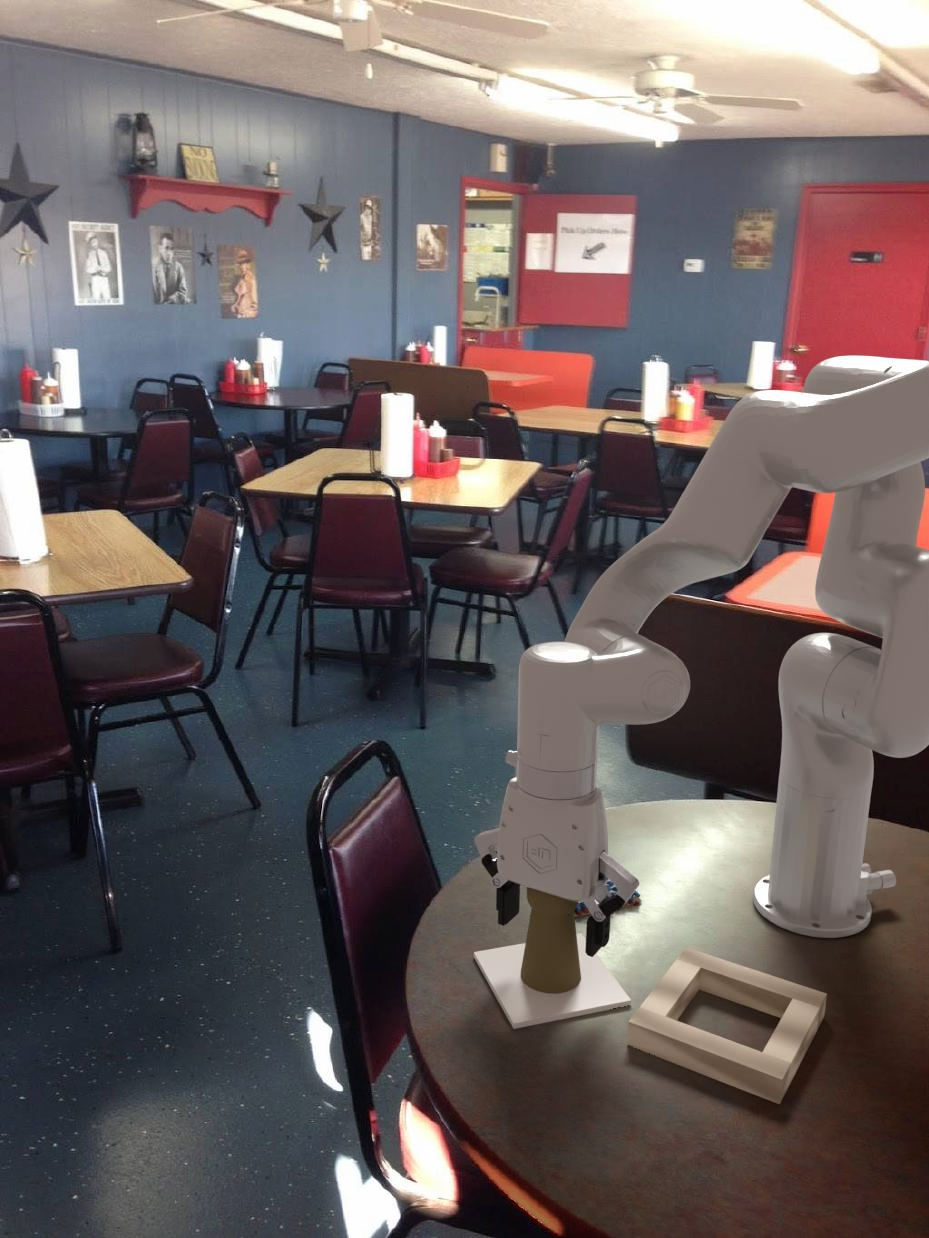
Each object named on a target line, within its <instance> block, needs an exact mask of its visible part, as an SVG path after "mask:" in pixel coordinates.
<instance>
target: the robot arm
mask: <svg viewBox="0 0 929 1238" xmlns="http://www.w3.org/2000/svg"><path fill="white" fill-rule="evenodd" d="M928 459H929V360H925V359H911V358H909V359H908V358H907V359H906V358H896V357H895V358H893V357H886V356H885V357H883V356H875V355H874V356H872V355H840V356H834V357H830V358H827V359H824V360H823V361H820V362H818V363H817V364H816V365H814V367H813V368H811V370H810V371H809V373H808V375H807V377H806V379H805V381H804V385H803V391H802V392H799V391H792V390H779V389H768V390H767V389H765V390H764V389H763V390H758V391H754V392H751V393H748V394H747V395H745V396H744V397H742V398H741V399H740V400H739V401H737V403H736V404H735V405H734V406H733V407H732V409H731V410H730V411H729V413H728V415H727V416H726V418H725V420H724V422H722V425H721V427H720V428H719V430H718V432H717V433H716V435H715V437H714V438H713V440H712V442H711V444H710V445H709V447H708V449H707V450H706V452H705V454H704V456H703V457H702V459H701V461H700V463H699V465H698V466H697V468H696V470H695V472H694V474H693V475H692V477H691V479H690V480H689V482H688V484H687V485H686V487H685V489H684V491H683V492H682V494H681V496H680V498H679V499H678V501H677V503H676V504H675V506H674V508H673V510H672V512H671V513H670V515H669V516H668V518H667V519H666V520H665V521H664V523H663V524H662V525H661V526H659V527H658V528H657V529H655V530H654V531H653V532H651V533H650V534H648V535H647V536H645V537H643V538H642V539H641V540H639V542H637V543H636V544H635V545H633V546H632V547H631V548H630V549H629V550H628V551H626V552H624V554H623V555H621V556H620V557H619V558H618V559H617V560H615V561H614V562H613V563H612V564H611V565H610V566H609V567H608V568H607V569H606V570H605V571H604V572H603V573H602V574H601V575H600V576H599V578H598V579H597V581H595V583H594V585H593V586H592V588H591V589H590V591H589V592H588V595H587V596H586V598H585V600H584V601H583V603H582V605H581V606H580V608H579V609H578V611H577V613H576V615H575V617H574V618H573V621H572V622H571V624H570V627H569V629H568V631H567V633H566V635H565V639H564V641H549V642H548V641H547V642H542V643H537V644H534V645H532V646H530V647H528V648H527V649H525V650H524V652H523V654H522V655H521V656H520V660H519V666H518V692H517V693H518V694H517V695H518V696H517V697H518V699H517V738H516V739H517V740H516V741H517V743H516V744H517V746H516V748H517V749H516V750H508V751H507V753H506V755H505V762H506V764H508V765H511V766H512V767H514V768H515V769H514V772H515V773H514V777H513V778H511V779H510V780H509V781H508V783H507V787H506V792H505V795H504V797H503V798H504V799H503V804H502V808H501V815H500V821H499V827H497V828H493V829H488V830H485V831H481V832H480V833H479V834H478V835H476V836H475V837H474V840H473V841H474V844H475V846H476V848H477V851H478V853H479V856H480V857H481V860H480V861H481V864H482V866H483V867H484V869H485V870H486V872H487V873H488V874H489V875H490V877H491V880H490V882H491V884H492V886H493V887H494V888H496V890H495V891H496V893H495V894H496V895H495V896H496V897H495V898H496V899H495V903H496V904H495V909H496V911H497V925H500V926H502V927H504V926H506V925H508V924H509V923H510V922H511V921H512V920H513V919H514V918H516V916H517V915H519V913H520V903H521V902H520V899H521V896H520V894H521V886H523V887H526V888H527V887H529V888H532V889H535V890H538V891H541V892H544V893H547V894H550V895H554V896H557V897H560V898H563V899H566V900H570V901H574V902H584V904H585V905H586V907H587V908H586V909H587V910H589V911H590V913H591V914H590V916H588V918H587V919H586V928H585V929H586V931H585V932H586V933H585V939H586V949H585V953H586V954H587V955H588V956H590V957H593V956H594V955H595V954H597V953H598V952H599V951H600V950H601V949H602V948H605V947H606V946H607V944H608V943H609V941H610V933H611V932H610V931H611V915H613V914H615V913H616V912H617V911H620V910H621V909H622V908H624V907H623V906H624V905H625V904H626V902H627V901H628V900H629V898H630V897H631V896H632V894H633V893H634V892H635V890H636V891H637V889H638V888H639V886H640V881H639V879H638V878H637V877H635V875H633V873H631V872H630V871H628V870H627V869H626V868H625V867H623V866H622V865H621V864H620V863H619V862H618V861H616V859H614V858H613V857H612V856H610V855H609V836H608V835H609V834H608V821H607V813H606V805H605V800H604V796H603V791H602V789H600V788H598V787H597V781H598V777H597V776H598V755H599V754H598V751H599V735H600V734H599V733H600V726H601V725H609V724H610V725H617V724H618V725H649V724H656V723H659V722H662V721H665V720H667V719H668V718H669V719H670V718H671V717H672V716H674V715H675V714H676V713H677V712H679V711H680V709H681V708H682V707H683V706H684V705H685V703H686V701H687V699H688V697H689V693H690V691H691V690H690V689H691V679H690V678H691V677H690V674H689V672H688V669H687V666H686V665H685V664H684V662H683V661H682V659H681V658H679V657H678V656H677V654H675V653H674V652H672V651H671V650H669V649H668V648H666V647H664V646H663V645H660V644H659V643H656V642H655V641H652V640H650V639H649V638H648V637H645V636H643V635H641V634H639V631H640V629H641V628H642V627H643V624H644V623H645V622H646V620H647V619H648V617H649V616H650V615H651V614H652V612H653V611H654V610H655V608H656V607H658V605H659V604H661V602H663V601H664V600H665V599H667V597H670V595H672V594H673V593H675V592H677V591H679V590H681V589H682V588H684V587H686V586H687V587H688V586H690V585H692V584H694V583H695V584H696V583H699V582H703V581H706V580H710V579H713V578H717V577H721V576H724V575H728V574H731V573H734V572H737V571H739V570H741V569H743V568H744V567H745V566H746V565H747V564H748V563H749V562H750V560H751V559H752V557H753V555H754V553H755V551H756V549H757V547H758V546H759V544H760V542H761V541H762V539H763V537H764V535H765V533H766V531H767V529H768V528H769V526H770V524H771V523H772V521H773V520H774V518H775V516H776V514H777V513H778V511H779V509H780V508H781V506H782V504H783V503H784V501H785V499H786V498H787V496H788V494H789V493H790V491H791V489H792V488H796V489H799V490H803V491H808V492H812V493H819V494H832V493H834V498H833V504H832V505H833V506H832V510H831V514H830V518H829V523H828V527H827V531H826V536H825V539H824V544H823V548H822V552H821V557H820V560H819V561H820V562H819V565H818V568H817V573H816V574H817V575H816V580H815V587H814V588H815V591H814V592H815V600H816V603H817V605H818V607H819V609H820V610H821V612H823V613H825V615H827V616H828V617H829V618H831V619H833V620H835V621H838V622H840V623H842V624H843V625H845V626H847V627H848V626H849V627H851V628H854V629H856V630H859V631H861V632H864V633H867V634H870V635H872V636H876V637H878V638H881V639H882V644H881V648H878V647H876V646H873V645H871V644H867V643H865V642H862V641H859V640H857V639H854V638H853V637H849V636H845V635H841V634H838V633H832V632H817V633H815V632H814V633H812V634H808V635H806V636H803V637H802V638H800V639H798V640H797V641H795V643H793V644H792V645H791V647H790V648H788V650H787V651H786V653H785V655H784V657H783V658H782V662H781V665H780V668H779V672H778V698H779V708H780V715H781V727H782V728H781V732H782V734H781V735H782V737H781V755H780V765H779V766H780V767H779V772H778V773H779V775H778V783H777V785H778V786H777V794H776V796H777V797H776V806H775V815H774V824H773V825H774V827H773V836H772V848H771V857H770V867H769V874H768V875H767V876H764V877H762V878H761V879H759V880H758V881H757V882H756V884H755V885H754V888H753V895H752V896H753V897H752V901H753V904H754V907H755V908H756V909H757V912H759V913H760V914H761V915H762V917H764V918H766V920H768V921H769V922H771V923H773V924H774V925H776V926H778V927H779V928H782V929H784V930H787V931H789V932H792V933H796V934H797V935H798V934H799V935H803V936H808V937H812V938H813V937H814V938H822V939H836V938H844V937H849V936H852V935H856V934H858V933H860V932H861V931H864V930H865V928H867V927H868V925H869V924H870V922H871V918H872V913H873V911H872V905H871V902H870V900H869V899H868V898H867V895H870V894H872V893H873V892H874V890H882V889H888V888H889V889H890V888H892V887H895V886H896V885H897V878H896V875H895V873H894V872H893V871H892V870H891V869H884V870H879V871H875V872H872V868H871V865H870V864H869V863H867V862H864V863H863V860H864V853H865V846H866V845H865V843H866V838H867V836H866V835H867V829H868V819H869V814H870V813H869V812H870V811H869V810H870V806H871V805H870V804H871V795H872V788H873V781H874V768H875V765H874V756H873V755H874V754H873V751H874V752H876V753H879V754H881V755H884V756H887V757H891V758H896V759H897V758H899V759H900V758H901V759H902V758H909V757H912V756H915V755H917V754H919V753H920V752H922V751H923V750H924V749H926V748H927V747H928V746H929V549H927V548H922V547H919V546H918V543H917V541H918V534H919V529H920V525H921V518H922V513H923V509H924V503H925V498H926V497H925V496H926V482H925V481H926V480H925V475H924V469H923V465H922V463H921V462H923V461H925V460H928ZM495 845H497V849H496V846H495ZM606 878H609V879H610V880H611V881H612V882H613V883H615V884H616V886H617V888H618V890H617V892H616V893H615V894H613V895H611V893H610V892H609V890H608V889H607V887H606V886H605V884H604V882H605V881H606ZM593 892H594V893H595V894H596V896H597V898H598V899H599V901H600V902H601V903H600V902H599V901H598V899H597V898H596V896H595V894H594V893H593Z"/></svg>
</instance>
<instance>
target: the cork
mask: <svg viewBox="0 0 929 1238" xmlns="http://www.w3.org/2000/svg"><path fill="white" fill-rule="evenodd" d="M526 899H527V903H528V904H529V906H530V908H531V910H530V915H529V922H528V926H527V933H526V938H525V939H526V940H525V943H526V944H525V950H524V955H523V961H522V967H521V978H522V980H523V982H524V983H525V984H526V985H527V986H528V987H530V988H532V989H534V990H536V991H539V992H543V993H551V994H558V993H564V992H567V991H570V990H572V989H574V988H575V987H576V986H577V985H578V984H579V983H580V980H581V972H580V963H579V954H578V944H577V935H576V934H577V929H576V928H577V926H576V917H575V916H574V913H575V911H574V910H575V909H576V907H577V905H578V903H579V902H574V901H570V900H566V899H563V898H560V897H557V896H554V895H550V894H547V893H544V892H541V891H538V890H535V889H532V888H529V887H526Z"/></svg>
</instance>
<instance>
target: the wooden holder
mask: <svg viewBox="0 0 929 1238" xmlns="http://www.w3.org/2000/svg"><path fill="white" fill-rule="evenodd" d="M699 991H702V992H705V993H708V994H711V995H714V996H716V997H719V998H722V999H726V1000H728V1001H731V1002H733V1003H736V1004H738V1005H742V1006H745V1007H747V1008H751V1009H754V1010H757V1011H759V1012H762V1013H766V1014H767V1015H771V1016H774V1017H777V1018H780V1020H779V1022H778V1024H777V1025H776V1028H775V1029H774V1030H773V1032H772V1034H771V1036H770V1038H769V1039H768V1042H767V1043H766V1045H765V1047H764V1049H763V1051H760V1050H758V1049H755V1048H752V1047H750V1046H747V1045H744V1044H741V1043H738V1042H735V1041H733V1040H730V1039H727V1038H725V1037H722V1036H720V1035H717V1034H713V1033H712V1032H708V1031H706V1030H704V1029H700V1028H698V1027H695V1026H692V1025H689V1024H687V1023H685V1022H682V1021H678V1020H679V1018H681V1016H682V1015H683V1013H684V1011H685V1010H686V1009H687V1008H688V1006H689V1005H690V1003H691V1002H692V1000H693V999H694V997H695V996H696V995H697V993H698V992H699ZM827 996H828V994H827V993H826V992H822V991H820V990H817V989H814V988H810V987H807V986H804V985H801V984H798V983H795V982H793V981H789V980H786V979H785V978H784V979H783V978H781V977H777V976H774V975H771V974H769V973H766V972H762V971H760V970H756V969H753V968H750V967H746V966H744V965H741V964H739V963H734V962H731V961H729V960H727V959H726V960H725V959H724V958H720V957H716V956H715V955H710V954H707V953H704V952H701V951H698V950H696V949H693V948H689V947H685V948H684V949H683V951H681V953H680V955H678V957H677V958H676V960H675V961H674V962H673V964H672V965H671V966H670V967H669V968H668V970H667V971H666V973H665V974H664V975H663V976H662V978H661V979H660V980H659V982H658V983H657V984H656V985H655V987H654V988H653V989H652V990H651V992H650V993H649V994H648V996H647V997H646V998H645V1000H644V1001H643V1002H642V1003H641V1004H640V1005H639V1007H638V1009H637V1010H636V1011H635V1013H633V1015H632V1016H631V1018H630V1019H629V1020H628V1025H627V1041H626V1042H627V1043H626V1045H627V1044H628V1045H627V1046H629V1045H630V1046H629V1047H631V1046H633V1047H632V1048H634V1049H636V1048H637V1049H636V1050H639V1049H640V1050H639V1051H642V1052H644V1053H647V1054H649V1053H650V1055H651V1056H654V1055H655V1056H654V1057H657V1058H659V1059H662V1060H665V1061H668V1062H670V1063H673V1064H674V1065H678V1066H680V1067H681V1068H682V1067H683V1068H685V1069H688V1070H691V1071H693V1072H695V1073H698V1074H701V1075H703V1076H706V1077H708V1078H709V1079H710V1078H711V1079H713V1080H716V1081H719V1082H721V1083H724V1084H726V1085H728V1086H731V1087H734V1088H736V1089H740V1090H741V1091H744V1092H747V1093H748V1094H752V1095H755V1096H757V1097H759V1098H762V1099H765V1100H767V1101H770V1102H772V1103H775V1104H777V1105H781V1103H782V1100H783V1099H784V1097H785V1095H786V1093H787V1091H788V1089H789V1086H790V1085H791V1083H792V1081H793V1079H794V1077H795V1075H796V1073H797V1071H798V1070H799V1067H800V1065H801V1063H802V1061H803V1059H804V1057H805V1055H806V1053H807V1051H808V1049H809V1047H810V1046H811V1044H812V1042H813V1040H814V1038H815V1035H816V1034H817V1032H818V1029H819V1027H820V1026H821V1024H822V1021H823V1020H824V1018H825V1014H826V1013H825V1012H826V1006H827V1005H826V1004H827Z"/></svg>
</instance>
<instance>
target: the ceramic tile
mask: <svg viewBox="0 0 929 1238" xmlns="http://www.w3.org/2000/svg"><path fill="white" fill-rule="evenodd" d="M576 935H577V944H578V954H579V963H580V972H581V980H580V983H579V984H578V985H577V986H576V987H575V988H574V989H572V990H570V991H567V992H564V993H558V994H551V993H543V992H539V991H536V990H534V989H532V988H530V987H528V986H527V985H526V984H525V983H524V982H523V980H522V978H521V967H522V961H523V955H524V950H525V944H526V942H523V943H518V944H512V945H506V946H501V947H495V948H490V949H484V950H479V951H474V952H473V958H474V960H475V962H476V965H477V966H478V967H479V969H480V971H481V973H482V975H483V977H484V978H485V980H486V981H487V983H488V985H489V987H490V989H491V992H492V993H493V994H494V997H495V998H496V1000H497V1002H498V1003H499V1005H500V1008H501V1009H502V1011H503V1012H504V1014H505V1016H506V1018H507V1019H508V1021H509V1023H510V1025H511V1027H512V1029H513V1030H516V1029H521V1028H526V1027H530V1026H537V1025H540V1024H545V1023H550V1022H555V1021H560V1020H565V1019H570V1018H575V1017H580V1016H586V1015H591V1014H596V1013H600V1012H605V1011H610V1009H611V1010H614V1009H613V1008H616V1009H618V1008H617V1007H621V1008H625V1007H624V1006H626V1007H628V1006H627V1005H631V1006H632V999H631V998H630V996H629V995H628V994H627V993H626V991H625V990H624V988H623V987H622V986H621V984H620V983H619V982H618V980H617V979H616V978H615V977H614V975H613V974H612V972H611V971H610V970H609V968H608V967H607V965H606V964H605V963H604V962H603V961H602V958H600V956H599V955H598V954H597V953H596V954H595V955H594V956H593V957H590V956H588V955H587V954H586V953H585V949H586V936H584V935H583V933H582V932H581V933H576Z"/></svg>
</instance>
